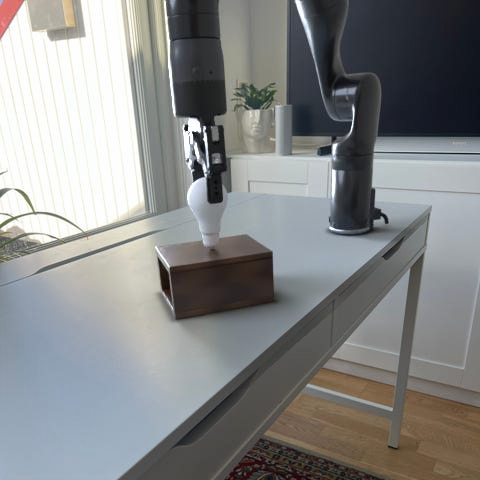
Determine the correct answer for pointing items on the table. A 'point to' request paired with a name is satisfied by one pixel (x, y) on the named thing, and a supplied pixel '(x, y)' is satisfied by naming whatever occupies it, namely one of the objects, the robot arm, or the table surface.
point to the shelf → (215, 275)
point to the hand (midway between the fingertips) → (207, 198)
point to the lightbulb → (207, 212)
